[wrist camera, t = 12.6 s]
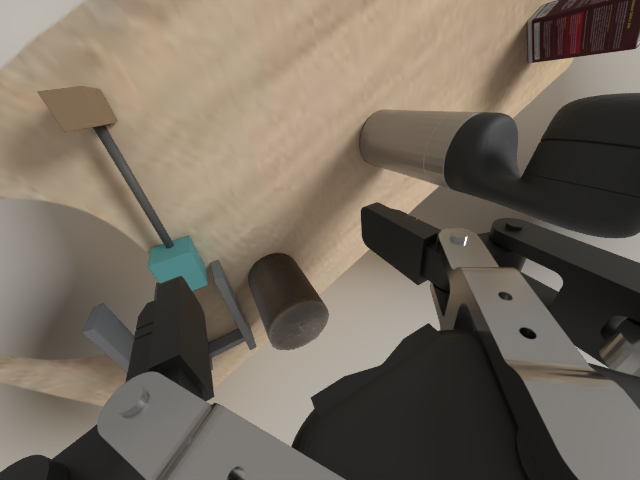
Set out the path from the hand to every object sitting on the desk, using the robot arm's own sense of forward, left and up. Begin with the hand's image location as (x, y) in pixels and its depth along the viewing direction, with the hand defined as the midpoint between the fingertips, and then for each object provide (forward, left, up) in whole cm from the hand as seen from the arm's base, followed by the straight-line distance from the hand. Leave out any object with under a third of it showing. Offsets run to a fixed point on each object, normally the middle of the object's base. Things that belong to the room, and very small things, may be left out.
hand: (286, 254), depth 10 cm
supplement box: (-68, -8, -28) cm, 74 cm away
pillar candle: (-2, +24, -28) cm, 37 cm away
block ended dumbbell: (+10, +4, -28) cm, 30 cm away
